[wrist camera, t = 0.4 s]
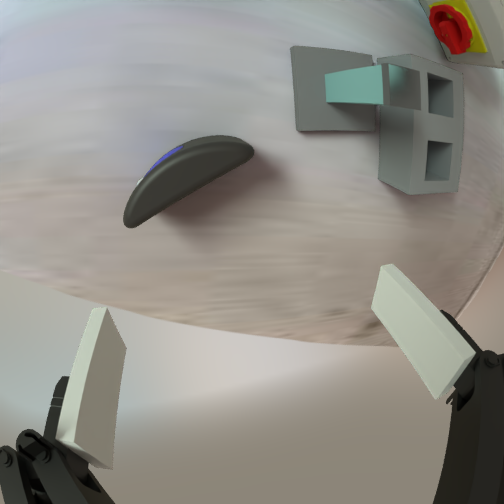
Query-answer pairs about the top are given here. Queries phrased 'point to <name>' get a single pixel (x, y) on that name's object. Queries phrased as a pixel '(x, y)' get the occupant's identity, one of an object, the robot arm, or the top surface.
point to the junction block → (424, 132)
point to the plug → (376, 86)
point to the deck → (314, 90)
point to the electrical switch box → (469, 30)
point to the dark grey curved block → (184, 174)
